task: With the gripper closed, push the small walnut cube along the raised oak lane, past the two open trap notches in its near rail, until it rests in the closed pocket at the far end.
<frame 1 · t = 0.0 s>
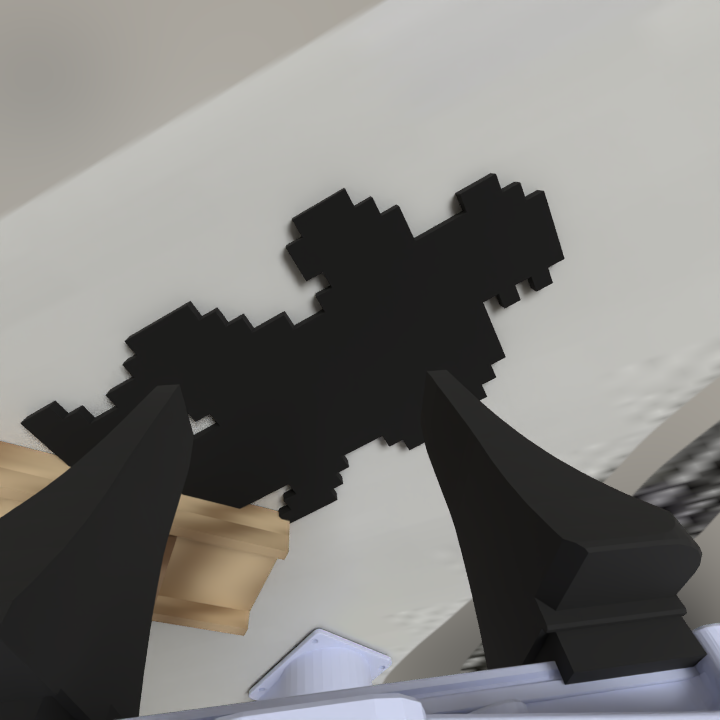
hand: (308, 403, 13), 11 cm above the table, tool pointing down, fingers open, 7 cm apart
walnut block: (129, 550, 26), point 2 cm above the table, touching lane
black pixelated cutout: (310, 376, 25), on the table
lane: (97, 518, 27), on the table
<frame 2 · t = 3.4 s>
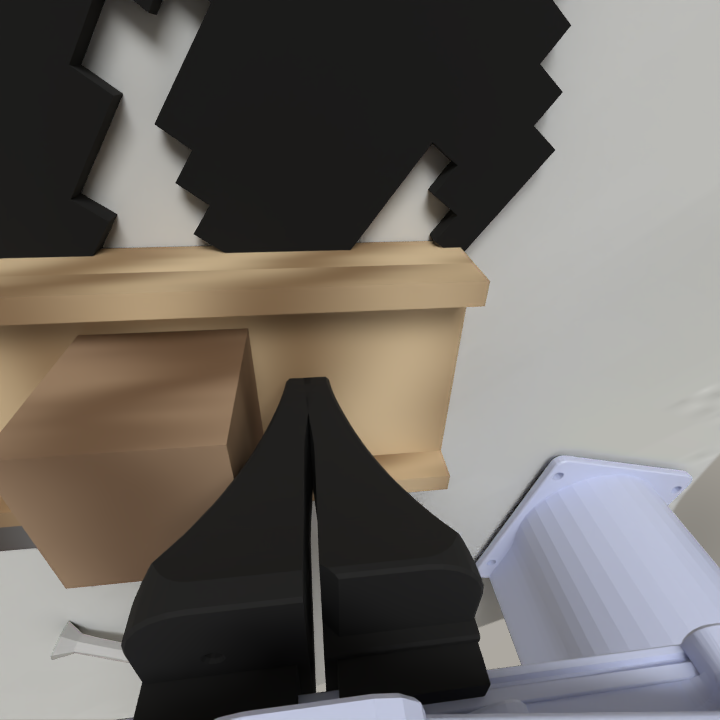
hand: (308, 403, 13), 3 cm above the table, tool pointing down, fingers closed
walnut block: (182, 395, 13), point 2 cm above the table, touching gripper
mushroom: (182, 626, 25), on the table
lane: (117, 365, 14), on the table
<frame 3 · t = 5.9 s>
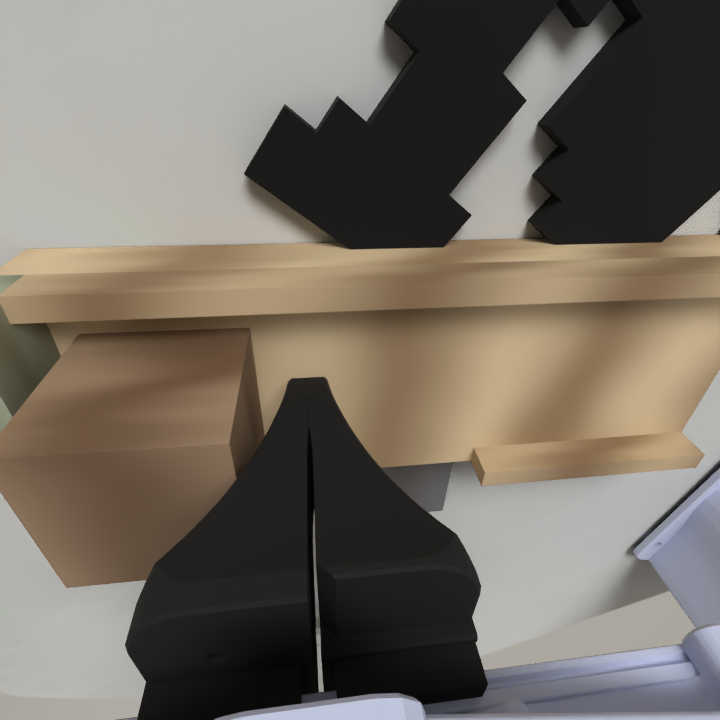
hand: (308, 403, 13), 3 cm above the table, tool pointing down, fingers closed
walnut block: (183, 394, 13), point 2 cm above the table, touching gripper, lane
lane: (405, 350, 15), on the table
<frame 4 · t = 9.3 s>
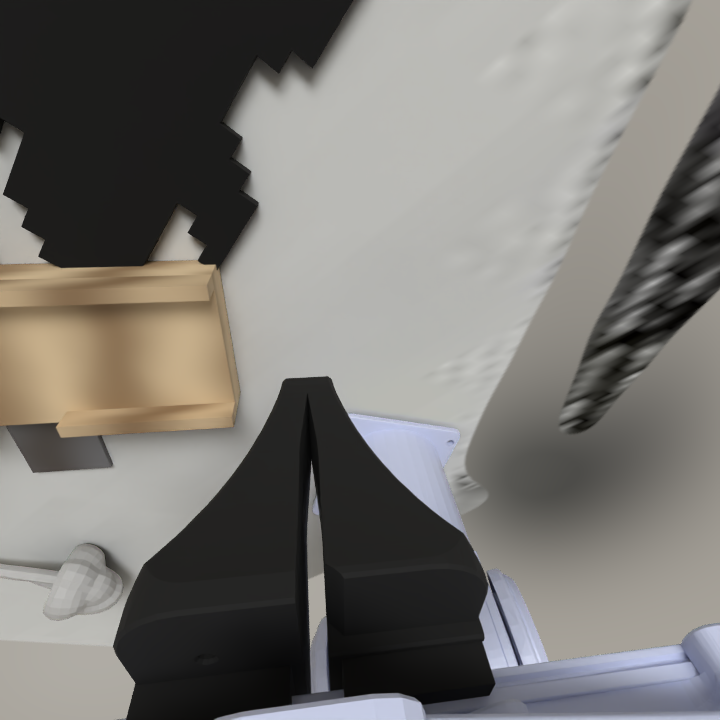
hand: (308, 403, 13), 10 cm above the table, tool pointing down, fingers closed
mushroom: (45, 552, 32), on the table
lane: (6, 341, 22), on the table
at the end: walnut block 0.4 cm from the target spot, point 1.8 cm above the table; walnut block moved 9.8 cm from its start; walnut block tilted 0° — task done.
